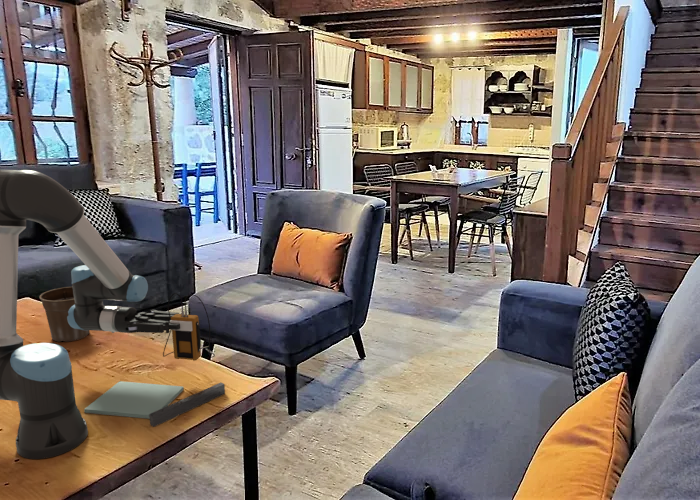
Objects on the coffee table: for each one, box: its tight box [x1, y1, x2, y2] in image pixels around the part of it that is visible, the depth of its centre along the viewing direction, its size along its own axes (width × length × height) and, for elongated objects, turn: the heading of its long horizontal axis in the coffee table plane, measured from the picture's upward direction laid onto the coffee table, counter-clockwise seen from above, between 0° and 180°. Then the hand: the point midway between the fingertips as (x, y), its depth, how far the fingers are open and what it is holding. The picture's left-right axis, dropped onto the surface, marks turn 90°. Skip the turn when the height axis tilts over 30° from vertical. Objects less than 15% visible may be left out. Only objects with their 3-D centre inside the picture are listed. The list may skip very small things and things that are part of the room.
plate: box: [83, 380, 184, 420], centre depth 149 cm, size 16×20×1 cm
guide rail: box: [149, 382, 226, 428], centre depth 145 cm, size 22×2×3 cm, turn 140°
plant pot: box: [39, 286, 91, 343], centre depth 194 cm, size 16×16×16 cm
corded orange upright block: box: [162, 292, 216, 362], centre depth 160 cm, size 15×10×20 cm
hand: (194, 324), depth 156 cm, fingers closed on corded orange upright block, 3 cm apart
